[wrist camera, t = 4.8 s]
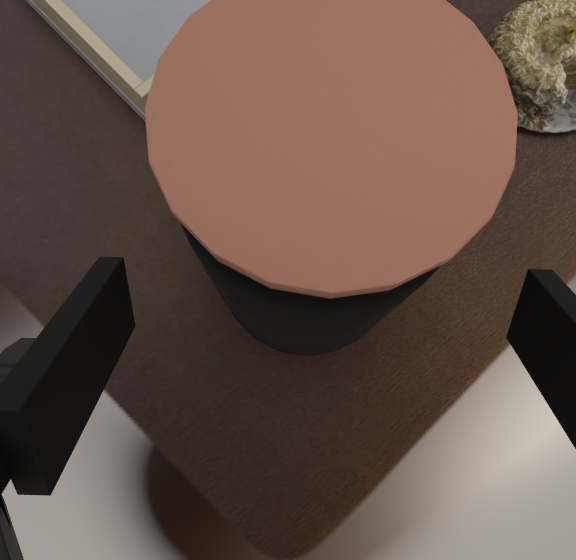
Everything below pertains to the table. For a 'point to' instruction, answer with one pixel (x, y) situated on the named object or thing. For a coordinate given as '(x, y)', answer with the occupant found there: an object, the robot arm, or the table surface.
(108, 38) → the shallow square crate
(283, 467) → the table surface
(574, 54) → the cake
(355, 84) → the coffee jar
